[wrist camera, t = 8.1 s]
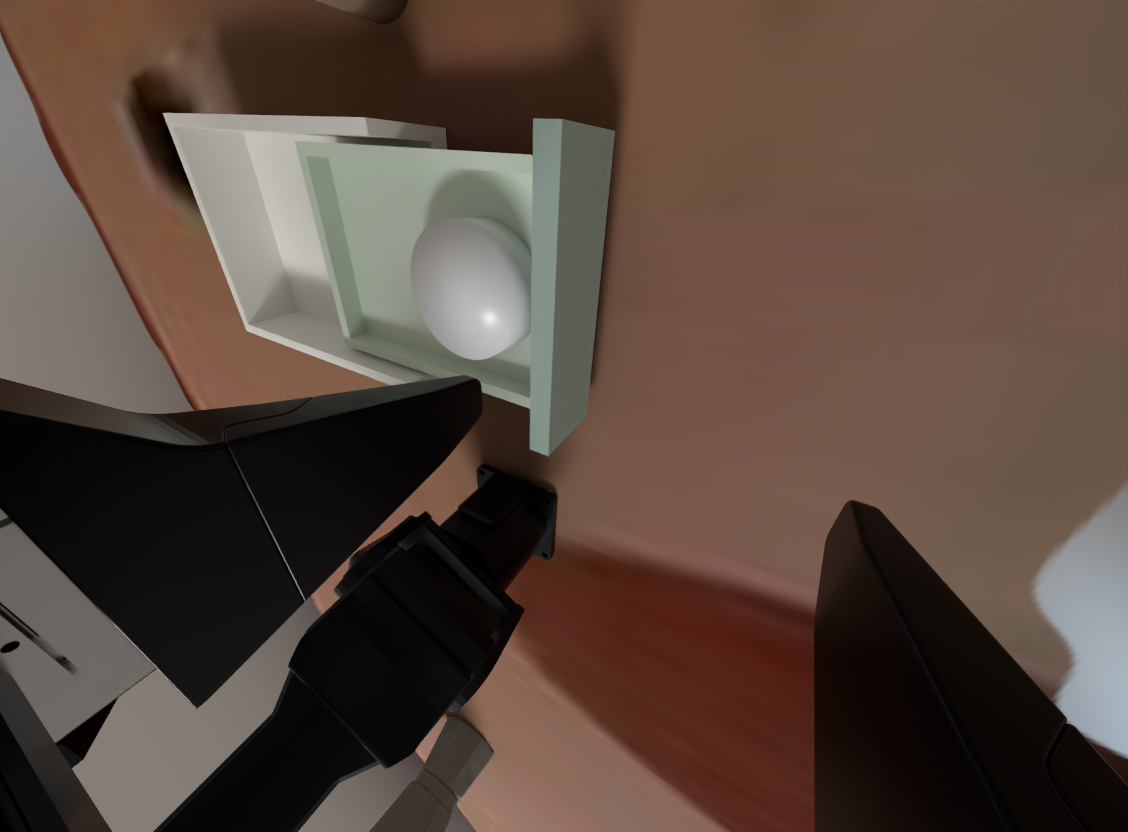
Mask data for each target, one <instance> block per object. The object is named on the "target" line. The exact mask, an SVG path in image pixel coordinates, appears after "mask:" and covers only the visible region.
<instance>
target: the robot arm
mask: <svg viewBox="0 0 1128 832" xmlns="http://www.w3.org/2000/svg"><path fill="white" fill-rule="evenodd" d="M482 412H483V400H482V386H481V383H480V381H479V380H478V379H477V378H474V377H470V376H467V375H460V376H453V377H446V378H439V379H432V380H425V381H418V382H412V383H405V384H398V385H391V386H384V387H377V388H370V389H363V390H356V391H349V392H342V393H336V394H329V395H322V396H316V397H314V398H313V397H308V398H301V399H294V400H286V401H279V402H271V403H263V404H254V405H246V406H237V407H227V408H218V409H208V410H199V411H190V412H181V413H168V414H146V413H136V412H129V411H124V410H119V409H116V408H112V407H108V406H104V405H101V404H97V403H93V402H89V401H85V400H82V399H77V398H74V397H70V396H66V395H63V394H59V393H55V392H51V391H47V390H44V389H40V388H36V387H32V386H28V385H25V384H21V383H17V382H13V381H9V380H6V379H1V378H0V832H112V831H111V829H110V828H109V826H108V825H107V823H106V822H105V820H104V818H103V817H102V816H101V814H100V812H99V811H98V809H97V808H96V806H95V804H94V803H93V801H92V800H91V798H90V797H89V795H88V793H87V792H86V790H85V789H84V787H83V786H82V784H81V782H80V781H79V779H78V778H77V776H76V775H75V773H74V772H73V770H72V768H73V767H74V766H75V765H77V764H78V763H79V762H80V761H82V760H83V759H84V757H85V755H86V753H87V752H88V750H89V748H90V747H91V745H92V743H93V741H94V739H95V738H96V736H97V734H98V732H99V731H100V728H101V727H102V725H103V723H104V722H105V720H106V718H107V716H108V715H109V713H110V711H111V709H112V707H113V706H114V704H115V702H116V700H117V699H118V697H119V696H121V695H122V694H123V693H125V692H126V691H127V690H129V689H130V688H131V687H133V686H134V685H135V684H137V683H138V682H139V681H141V680H142V679H144V678H145V677H146V676H148V675H149V674H150V673H152V672H153V671H154V670H156V669H157V670H158V671H159V672H160V673H161V674H162V675H163V676H164V677H165V678H166V679H167V680H168V681H169V682H170V683H171V684H172V685H173V686H174V687H175V688H176V689H177V690H178V691H179V692H180V693H181V694H182V695H183V696H184V697H185V698H186V699H187V700H188V701H189V702H190V703H191V705H193V706H194V708H196V709H197V708H198V707H199V706H201V705H202V704H203V703H204V702H206V701H207V700H208V699H209V698H210V697H211V696H212V695H213V694H214V693H215V692H216V691H217V690H218V689H219V688H220V687H221V686H222V685H223V684H224V683H225V682H226V681H227V680H228V679H229V678H230V677H231V676H232V675H233V674H234V673H235V672H236V671H237V670H238V669H239V668H240V667H241V666H242V665H243V664H244V663H245V662H246V661H247V660H248V659H249V658H250V657H251V656H252V655H253V654H254V653H255V652H256V651H257V650H258V649H259V648H260V647H261V646H262V644H264V643H265V642H266V641H267V640H268V639H269V638H270V637H271V635H273V634H274V633H275V631H276V630H278V628H280V626H281V625H282V624H283V623H284V622H285V621H286V620H287V619H288V618H289V617H290V616H291V615H292V614H293V613H294V612H295V611H296V610H297V609H298V608H299V607H300V606H301V605H302V604H303V603H304V600H307V599H308V598H309V597H310V596H311V595H312V594H313V593H314V592H315V591H316V590H317V589H318V588H319V587H320V586H321V585H322V584H323V583H324V582H325V581H326V580H327V579H328V578H329V577H330V576H331V575H332V574H333V573H334V572H335V571H336V570H337V569H338V568H339V567H340V566H341V565H342V564H343V563H344V562H345V561H346V560H347V559H348V558H349V557H350V556H351V555H352V554H353V553H354V552H355V551H356V550H357V549H358V548H359V547H360V545H361V544H362V543H363V542H364V541H365V540H366V539H367V538H368V537H369V536H370V535H371V534H372V533H373V532H374V531H375V530H376V529H377V528H378V527H379V526H380V525H381V524H382V523H383V522H384V521H385V520H386V519H387V518H388V517H389V516H390V515H391V514H392V513H393V512H394V511H395V510H396V509H397V508H398V507H399V506H400V505H401V504H402V503H403V502H404V501H405V500H406V499H407V498H408V497H409V496H410V495H411V494H412V493H413V492H414V491H415V490H416V489H417V488H418V487H419V486H420V485H421V484H422V483H423V482H424V481H425V480H426V479H427V478H428V477H429V476H430V475H431V474H432V473H433V472H434V471H435V470H436V469H437V468H438V467H439V466H440V465H441V464H442V463H443V462H444V461H445V460H446V458H447V457H448V456H449V455H450V454H451V453H452V451H453V450H454V449H455V448H456V446H457V445H458V444H459V443H460V441H461V440H462V439H463V438H464V437H465V435H466V434H467V433H468V432H469V430H470V429H471V428H472V427H473V425H474V424H475V423H476V422H477V420H478V419H479V418H480V416H481V414H482ZM477 482H478V489H477V490H476V491H475V492H473V493H472V494H471V495H470V496H469V497H468V498H467V499H466V500H465V501H464V502H462V503H461V504H460V505H459V507H458V510H456V511H455V512H454V513H453V514H452V515H451V516H450V517H449V518H448V519H447V520H446V521H444V522H443V523H442V524H441V525H440V526H438V525H437V524H436V523H435V522H434V521H433V520H432V519H431V518H432V516H431V515H430V514H429V513H428V512H427V511H425V512H424V513H422V514H421V515H420V516H418V517H414V516H411V515H410V516H409V517H408V518H406V519H405V520H404V521H403V522H402V523H400V524H399V525H398V526H397V527H395V528H394V529H393V530H391V531H390V532H389V533H387V534H386V535H384V536H382V537H381V538H379V539H377V540H376V541H374V542H372V543H371V544H369V545H367V546H366V547H364V548H362V549H361V550H359V551H357V552H356V553H355V554H354V555H353V556H352V557H351V558H350V562H349V570H348V571H347V572H346V574H345V575H344V576H343V579H342V580H341V581H340V582H339V584H338V585H337V586H336V587H335V589H334V592H335V593H336V594H337V596H338V597H339V598H340V599H338V600H337V601H336V602H335V603H334V604H333V605H332V606H331V607H330V608H329V609H328V610H327V611H326V612H325V613H324V614H323V615H322V616H321V617H320V618H318V619H317V620H316V621H315V622H314V623H313V624H312V625H311V626H310V627H309V628H308V630H307V631H306V633H305V634H304V636H303V637H302V638H301V640H300V641H299V644H298V646H297V647H296V650H295V652H294V654H293V656H292V658H291V660H290V663H289V665H288V667H289V668H290V671H289V674H288V676H287V679H286V681H285V684H284V686H283V689H282V691H281V694H280V696H279V699H278V701H277V704H276V707H275V708H274V711H273V713H272V714H271V715H270V716H269V717H268V718H267V719H266V720H265V721H264V722H263V723H262V724H261V725H260V726H259V727H258V728H257V729H256V730H255V731H254V732H253V733H252V734H251V735H250V736H249V737H248V738H247V739H246V740H245V741H244V742H243V743H242V744H241V745H240V746H239V747H238V748H237V749H236V750H235V751H234V752H233V753H232V754H231V755H230V756H229V757H228V758H227V759H226V760H225V761H224V762H223V763H222V764H221V765H220V766H219V767H218V768H217V769H216V770H215V771H214V772H213V773H212V774H211V775H210V776H209V777H208V778H207V779H206V780H205V781H204V782H203V783H202V784H201V785H200V786H199V787H198V788H197V789H196V790H195V791H194V792H193V793H192V794H191V795H190V796H189V797H188V798H187V799H186V800H185V801H184V802H183V803H182V804H181V805H180V806H179V807H178V808H177V809H176V810H175V811H174V812H173V813H172V814H171V815H170V816H169V817H168V818H167V819H166V820H165V821H164V822H163V823H162V824H161V825H160V826H159V827H158V828H157V829H156V830H155V831H154V832H298V831H299V830H300V828H301V827H302V826H303V825H304V824H305V822H306V821H307V820H308V819H309V818H310V816H311V815H312V814H313V813H314V812H315V810H316V809H317V808H318V807H319V806H320V805H321V803H322V802H323V801H324V800H325V799H326V797H327V796H328V795H329V794H330V793H331V791H332V790H333V789H334V788H335V787H336V786H337V785H338V784H339V783H340V782H342V781H344V780H346V779H349V778H351V777H353V776H355V775H357V774H359V773H361V772H364V771H366V770H368V769H370V768H372V767H374V766H376V765H379V764H381V765H382V766H383V767H384V768H385V769H386V768H389V767H391V766H393V765H395V764H396V763H398V762H400V761H402V760H403V759H405V758H407V757H408V756H410V755H411V754H412V753H413V752H414V751H415V750H416V748H417V747H418V745H419V744H420V743H421V741H422V740H423V739H424V738H425V737H426V735H427V734H428V733H429V732H430V730H431V729H432V728H433V727H434V726H435V724H436V723H437V722H438V721H439V719H440V718H441V717H442V716H443V714H444V713H445V712H446V711H447V710H449V711H450V712H452V713H454V712H456V711H457V710H459V709H460V708H461V707H462V706H463V705H464V704H465V703H466V702H468V700H469V699H470V698H471V697H472V696H473V695H474V694H475V693H476V691H477V690H478V689H479V688H480V686H481V685H482V684H483V682H484V681H485V680H486V678H487V677H488V675H489V674H490V672H491V671H492V669H493V668H494V666H495V664H496V662H497V661H498V659H499V657H500V655H501V653H502V651H503V649H504V648H505V646H506V644H507V642H508V640H509V638H510V637H511V635H512V633H513V631H514V629H515V627H516V625H517V624H518V622H519V620H520V618H521V616H522V614H523V613H524V611H525V609H524V608H523V607H522V606H521V605H520V604H516V603H515V602H514V601H513V600H512V599H511V598H510V597H509V596H508V595H507V594H506V593H505V590H506V589H507V588H508V586H509V585H510V584H511V582H512V581H513V580H514V578H515V577H516V576H517V575H518V573H519V572H520V571H521V569H522V568H523V567H524V565H525V564H526V563H527V561H528V560H529V559H530V557H531V556H532V555H533V554H535V555H537V556H539V557H541V558H543V559H545V560H550V559H551V558H552V556H553V552H554V535H555V519H556V502H557V500H556V497H555V496H554V495H553V494H552V493H550V492H548V491H546V490H543V489H541V488H539V487H536V486H534V485H532V484H529V483H527V482H525V481H522V480H520V479H518V478H515V477H513V476H511V475H508V474H506V473H504V472H501V471H499V470H497V469H494V468H492V467H490V466H487V465H485V464H481V465H480V466H479V467H478V468H477ZM548 499H549V500H548ZM1066 722H1067V718H1066V716H1065V715H1064V714H1063V713H1062V712H1061V711H1060V710H1059V709H1058V708H1057V706H1056V705H1055V704H1054V703H1053V702H1052V701H1051V700H1050V699H1049V698H1048V696H1047V695H1046V694H1045V693H1044V692H1043V691H1042V690H1041V689H1040V688H1039V686H1038V685H1037V684H1036V683H1035V682H1034V681H1033V680H1032V679H1031V678H1030V676H1029V675H1028V674H1027V673H1026V672H1025V671H1024V670H1023V669H1022V668H1021V666H1020V665H1019V664H1018V663H1017V662H1016V661H1015V660H1014V659H1013V658H1012V656H1011V655H1010V654H1009V653H1008V652H1007V651H1006V650H1005V649H1004V648H1003V646H1002V645H1001V644H1000V643H999V642H998V641H997V640H996V639H995V637H994V636H993V635H992V634H991V633H990V632H989V631H988V630H987V629H986V627H985V626H984V625H983V624H982V623H981V622H980V621H979V620H978V619H977V617H976V616H975V615H974V614H973V613H972V612H971V611H970V610H969V609H968V607H967V606H966V605H965V604H964V603H963V602H962V601H961V600H960V599H959V597H958V596H957V595H956V594H955V593H954V592H953V591H952V590H951V589H950V587H949V586H948V585H947V584H946V583H945V582H944V581H943V580H942V579H941V577H940V576H939V575H938V574H937V573H936V572H935V571H934V570H933V569H932V567H931V566H930V565H929V564H928V563H927V562H926V561H925V560H924V559H923V557H922V556H921V555H920V554H919V553H918V552H917V551H916V550H915V549H914V547H913V546H912V545H911V544H910V543H909V542H908V541H907V540H906V539H905V537H904V536H903V535H902V534H901V533H900V532H899V531H898V530H897V529H896V527H895V526H894V525H893V524H892V523H891V522H890V521H889V520H888V518H887V517H886V516H885V515H884V514H883V513H882V512H881V511H880V510H879V509H878V508H876V507H874V506H871V505H867V504H864V503H861V502H858V501H855V500H850V501H848V502H847V503H846V504H845V505H844V507H843V509H842V510H841V512H840V514H839V516H838V517H837V519H836V521H835V523H834V524H833V526H832V528H831V529H830V531H829V533H828V536H827V539H826V542H825V548H824V555H823V562H822V569H821V576H820V583H819V590H818V598H817V605H816V613H815V625H814V755H815V832H1128V784H1127V783H1126V782H1125V781H1124V780H1123V779H1122V778H1121V777H1120V776H1119V775H1118V774H1117V773H1116V772H1115V770H1114V769H1113V768H1112V767H1111V766H1110V765H1109V764H1108V763H1107V762H1106V761H1105V760H1104V758H1103V757H1102V756H1101V755H1100V754H1099V753H1098V752H1097V751H1096V750H1095V748H1094V747H1093V746H1092V745H1091V744H1090V743H1089V742H1088V741H1087V739H1086V738H1085V737H1084V736H1083V735H1082V734H1081V733H1080V732H1079V731H1078V729H1077V728H1076V727H1075V726H1073V725H1071V724H1066Z"/></svg>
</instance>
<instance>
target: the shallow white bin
mask: <svg viewBox="0 0 1128 832" xmlns="http://www.w3.org/2000/svg"><path fill="white" fill-rule="evenodd" d="M163 115H164V117H165V120H166V122H167V125H168V128H169V130H170V133H171V135H172V138H173V141H174V143H175V146H176V148H177V151H178V154H179V156H180V159H181V161H182V164H183V167H184V169H185V172H186V174H187V177H188V180H189V182H190V185H191V187H192V190H193V193H194V195H195V198H196V200H197V203H198V206H199V208H200V211H201V213H202V216H203V219H204V221H205V224H206V226H207V229H208V232H209V234H210V237H211V239H212V242H213V245H214V247H215V250H216V252H217V255H218V258H219V260H220V263H221V265H222V268H223V271H224V273H225V276H226V278H227V281H228V284H229V286H230V289H231V291H232V294H233V297H234V299H235V302H236V304H237V307H238V310H239V312H240V315H241V317H242V320H243V323H244V325H245V328H246V330H247V331H248V332H251V333H253V334H256V335H259V336H261V337H264V338H267V339H269V340H272V341H275V342H277V343H280V344H283V345H285V346H288V347H291V348H293V349H296V350H299V351H301V352H304V353H307V354H309V355H312V356H315V357H317V358H320V359H323V360H325V361H328V362H331V363H333V364H336V365H339V366H341V367H344V368H347V369H349V370H352V371H355V372H357V373H360V374H363V375H365V376H368V377H371V378H373V379H376V380H379V381H381V382H384V383H387V384H389V385H398V384H405V383H412V382H418V381H425V380H432V379H439V377H436V376H433V375H431V374H428V373H425V372H422V371H419V370H416V369H413V368H410V367H407V366H404V365H401V364H399V363H396V362H393V361H390V360H387V359H384V358H381V357H378V356H375V355H372V354H369V353H367V352H364V351H361V350H358V349H355V348H352V347H349V346H346V343H345V339H344V335H343V331H342V327H341V324H340V320H339V316H338V312H337V308H336V304H335V300H334V296H333V292H332V288H331V284H330V280H329V276H328V272H327V268H326V264H325V260H324V256H323V252H322V248H321V244H320V240H319V236H318V232H317V228H316V224H315V220H314V216H313V212H312V208H311V204H310V200H309V196H308V192H307V188H306V184H305V181H304V177H303V173H302V169H301V165H300V161H299V157H298V153H297V149H296V145H295V141H308V142H325V143H342V144H359V145H376V146H393V147H410V148H427V149H443V150H447V139H446V128H442V127H435V126H427V125H420V124H412V123H404V122H397V121H389V120H382V119H374V118H367V117H327V116H280V115H233V114H186V113H163Z"/></svg>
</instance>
